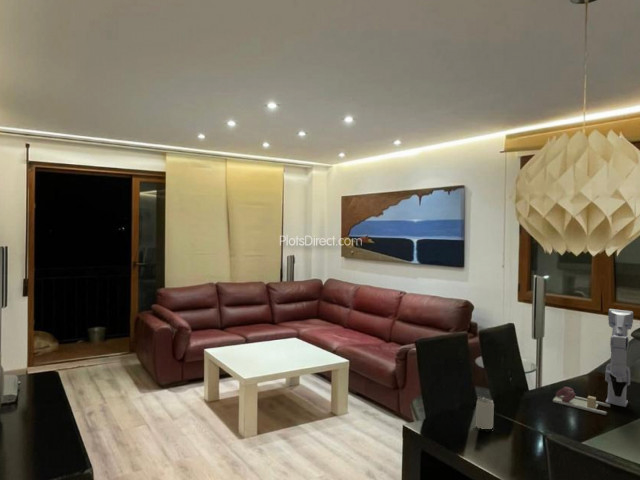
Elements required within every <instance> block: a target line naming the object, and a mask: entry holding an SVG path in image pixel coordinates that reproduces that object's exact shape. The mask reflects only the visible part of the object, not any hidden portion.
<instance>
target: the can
mask: <svg viewBox="0 0 640 480" xmlns="http://www.w3.org/2000/svg"><path fill="white" fill-rule="evenodd" d="M494 408H495V404H494V400H493V398H492V397H488V396H478V397H477V400H476V407H475V427H476V426H477V427H478V428H481V429H492V428H493V429H494V413H495V411H494Z"/></svg>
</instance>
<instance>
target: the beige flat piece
mask: <svg viewBox="0 0 640 480" xmlns="http://www.w3.org/2000/svg"><path fill="white" fill-rule="evenodd" d="M563 398H564V396H557V395H555V397H553V399H556V400H560V401H562V399H563ZM586 399H587V401H583V400H579V399H575V398H574V399H572V400H571V401H569V402H568V403H572V404H576V405H580V406H584V407H588V408H592V409H597V408H598V407H599V405H598V404H596V401H597V397H596V396H591V395H588V396H587V398H586Z"/></svg>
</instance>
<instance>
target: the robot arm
mask: <svg viewBox="0 0 640 480" xmlns="http://www.w3.org/2000/svg"><path fill="white" fill-rule="evenodd" d="M607 321H608V325H609V327H610V328H611V329H612V331H611V336H610V343H609V345H610V363H608V364H607V365H606V366H605V373H604V374H605V375H604V377H605V378H604V380H605V382H607V384H608V385H607V398H606V400H605V402H604V403H607V404H610V405H611V404H612V405H615V406H619V407H624V408H626V407H627V405H628V403H629V401H628V399H627V388H628V386H630V385H631V376H632V375H631V374H632V373H631V369H630V367H629V366H627V357H628V355H627V354H628V349H629V344H630V343H629V336H628V331H629V330H632V327H633V323H634V311H633V310H625V309H624V310H623V309H622V310H621V309H614V308H609V309H608V319H607Z"/></svg>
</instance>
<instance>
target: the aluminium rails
mask: <svg viewBox="0 0 640 480" xmlns="http://www.w3.org/2000/svg"><path fill="white" fill-rule="evenodd" d="M562 396H564V395H562ZM575 399H579V400H583V401H587V398H585V397H581V396H576V395H575ZM552 403H556V404H559V405H563V406H564V405H565V406H567V407H572V408H574V409H580V410H584V411H587V412H591V413H595V414H600V415H604V416H607V413H608V412H607V411H605V410H600V409H597V408H596V409H592V408H588V407H584V406H580V405H576V404H572V403H568V402H564V401H560V400H556V399H554V398H553V399H552ZM596 404H598V406H602V407H606V408H611V403H606V402H602V401H598V400H596Z"/></svg>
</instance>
